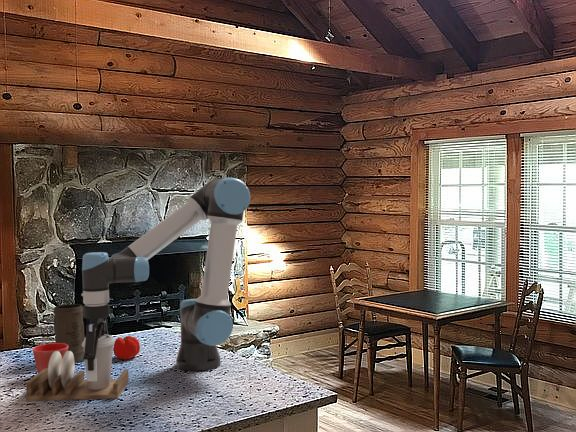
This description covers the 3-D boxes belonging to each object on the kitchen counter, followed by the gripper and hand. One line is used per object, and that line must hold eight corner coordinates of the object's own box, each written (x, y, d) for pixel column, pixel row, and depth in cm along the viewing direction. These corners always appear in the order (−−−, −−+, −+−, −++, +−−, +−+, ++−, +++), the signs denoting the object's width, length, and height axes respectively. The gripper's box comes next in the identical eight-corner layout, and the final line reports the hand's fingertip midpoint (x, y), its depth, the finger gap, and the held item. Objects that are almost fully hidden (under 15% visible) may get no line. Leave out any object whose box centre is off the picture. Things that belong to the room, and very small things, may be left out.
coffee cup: (96, 393, 183) (95, 342, 182) (75, 387, 188) (74, 338, 188) (122, 385, 191) (121, 336, 190) (101, 379, 196) (100, 332, 196)
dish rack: (128, 382, 197) (127, 344, 196) (117, 398, 182) (116, 356, 181) (44, 384, 196) (43, 346, 195) (26, 400, 181) (25, 358, 180)
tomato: (113, 362, 222) (112, 341, 221) (114, 355, 230) (113, 335, 230) (140, 360, 224) (139, 339, 224) (140, 354, 232) (139, 333, 232)
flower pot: (57, 381, 199) (56, 351, 199) (26, 380, 201) (25, 350, 201) (75, 372, 209) (74, 343, 209) (45, 370, 212) (45, 342, 211)
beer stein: (93, 358, 226) (89, 303, 226) (68, 365, 217) (64, 308, 217) (65, 356, 234) (61, 302, 234) (40, 362, 225) (36, 307, 225)
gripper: (94, 297, 200) (96, 363, 201) (71, 312, 176) (72, 387, 176) (118, 296, 201) (119, 362, 201) (98, 311, 176) (99, 386, 177)
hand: (97, 374), depth 189 cm, fingers open, 13 cm apart
